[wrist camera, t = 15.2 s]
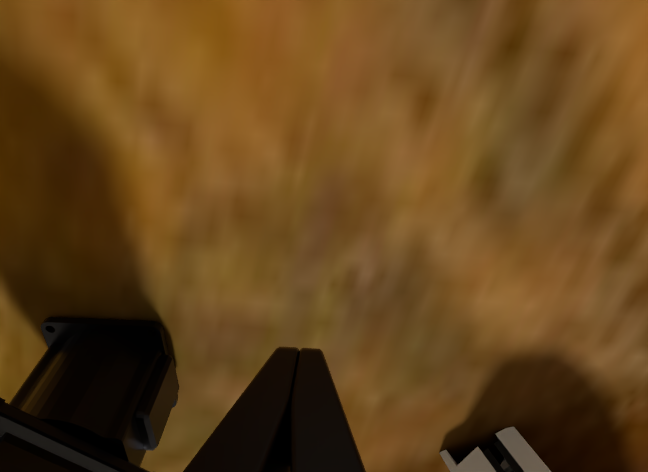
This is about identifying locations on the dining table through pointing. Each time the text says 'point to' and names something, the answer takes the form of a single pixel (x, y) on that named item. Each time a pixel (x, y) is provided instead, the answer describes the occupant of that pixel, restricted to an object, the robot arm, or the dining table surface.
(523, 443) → the white arched piece
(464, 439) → the dining table surface
